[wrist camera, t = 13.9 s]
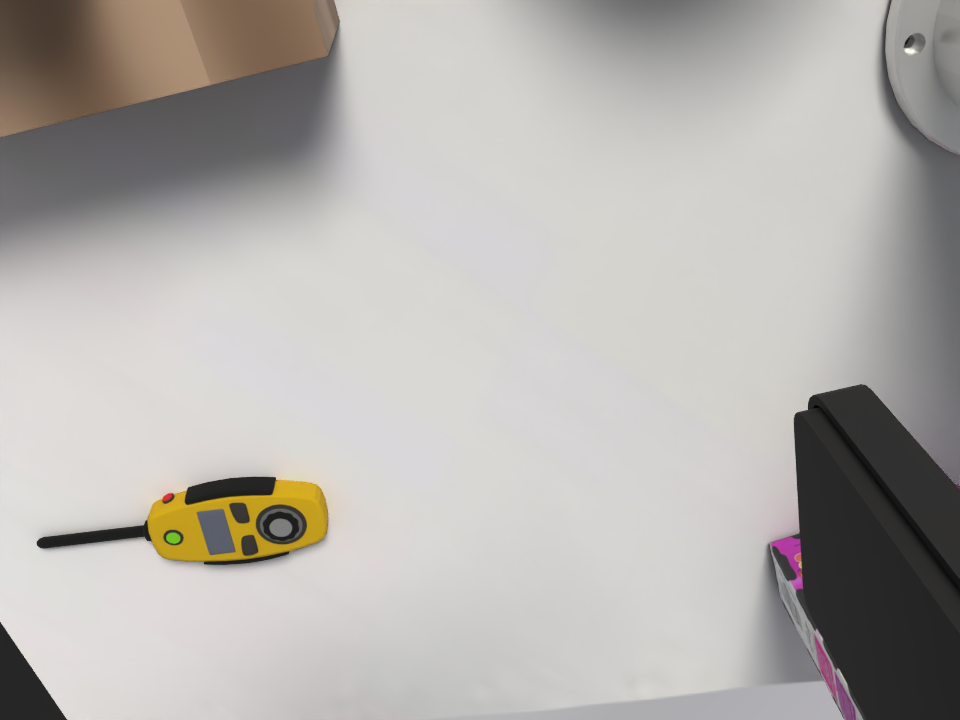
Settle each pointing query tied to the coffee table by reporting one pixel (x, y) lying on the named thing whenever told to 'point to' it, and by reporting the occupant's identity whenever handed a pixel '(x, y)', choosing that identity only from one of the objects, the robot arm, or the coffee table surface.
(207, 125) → the coffee table surface
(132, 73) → the socket block
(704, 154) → the coffee table surface
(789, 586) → the candy bar box
